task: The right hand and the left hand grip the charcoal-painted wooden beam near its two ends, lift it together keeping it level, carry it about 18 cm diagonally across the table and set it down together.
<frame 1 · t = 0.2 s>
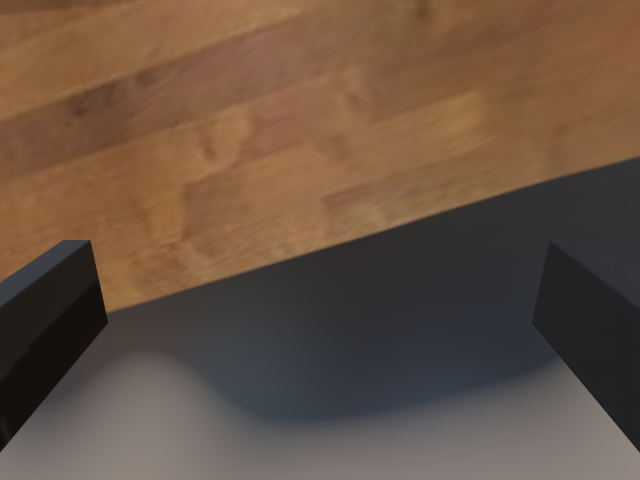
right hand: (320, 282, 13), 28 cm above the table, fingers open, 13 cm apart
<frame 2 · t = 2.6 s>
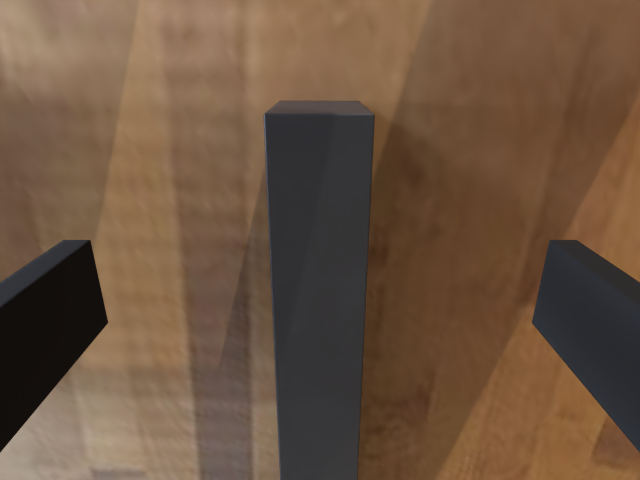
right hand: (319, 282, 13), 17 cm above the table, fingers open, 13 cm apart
beam: (319, 343, 33), on the table
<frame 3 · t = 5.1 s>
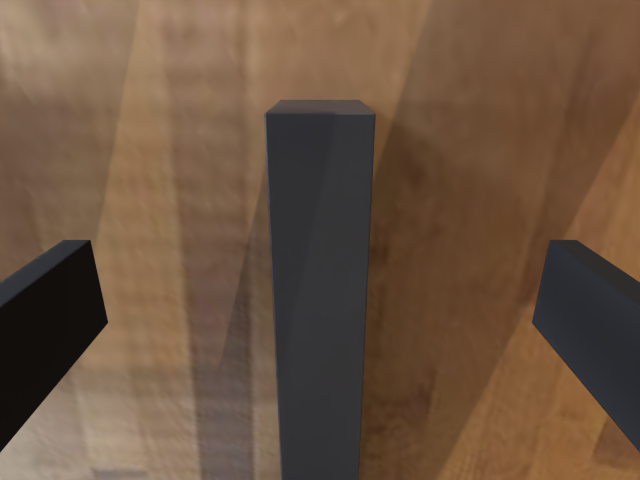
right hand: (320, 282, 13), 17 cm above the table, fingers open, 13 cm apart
beam: (319, 343, 33), on the table, touching left hand
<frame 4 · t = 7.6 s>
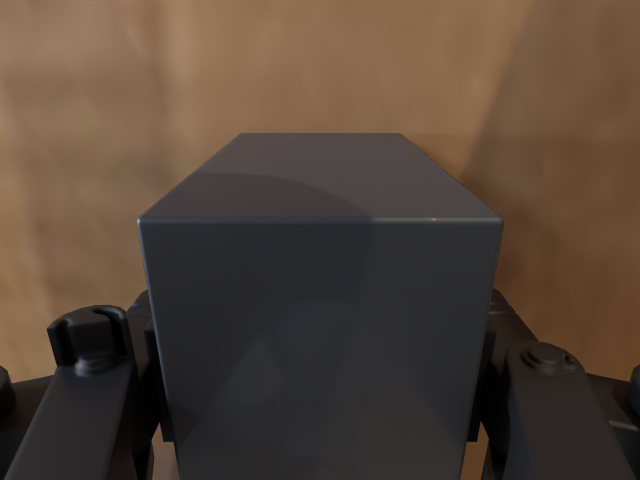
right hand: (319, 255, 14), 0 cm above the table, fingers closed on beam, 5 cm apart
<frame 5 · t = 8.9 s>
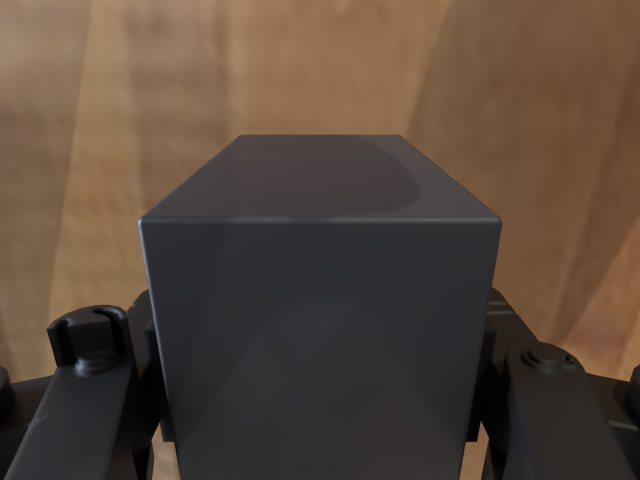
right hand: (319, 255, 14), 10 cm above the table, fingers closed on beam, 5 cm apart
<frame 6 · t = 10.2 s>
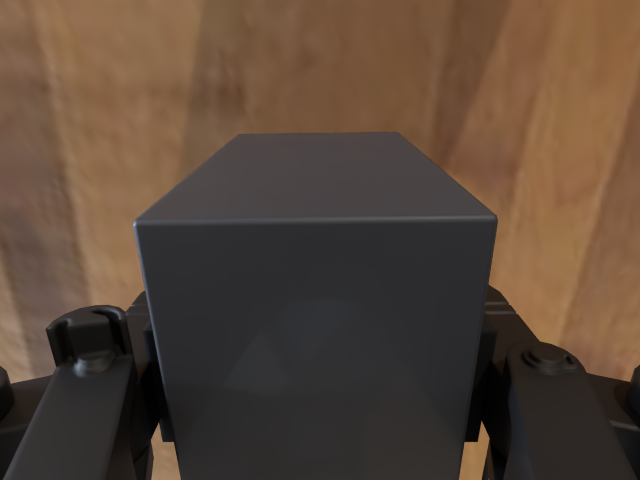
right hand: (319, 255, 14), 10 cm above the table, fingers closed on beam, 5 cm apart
when the left hand's fingers open (1 cm above the table, at t = 12.7 s): beam stays where it is, on the table.
when the right hand's fingers open (1 cm above the table, at t = 12.7 s): beam stays where it is, on the table.
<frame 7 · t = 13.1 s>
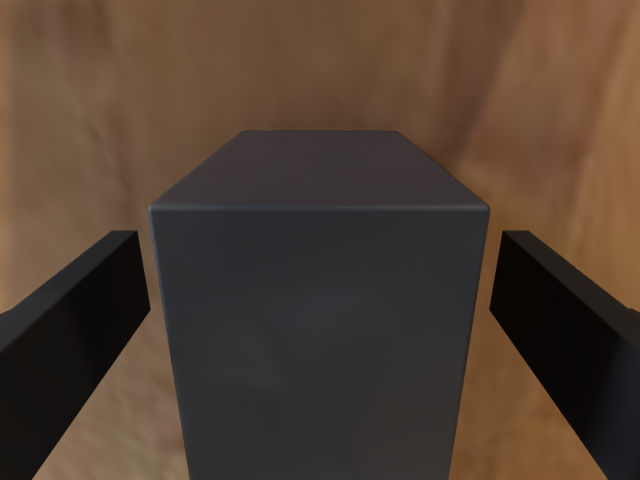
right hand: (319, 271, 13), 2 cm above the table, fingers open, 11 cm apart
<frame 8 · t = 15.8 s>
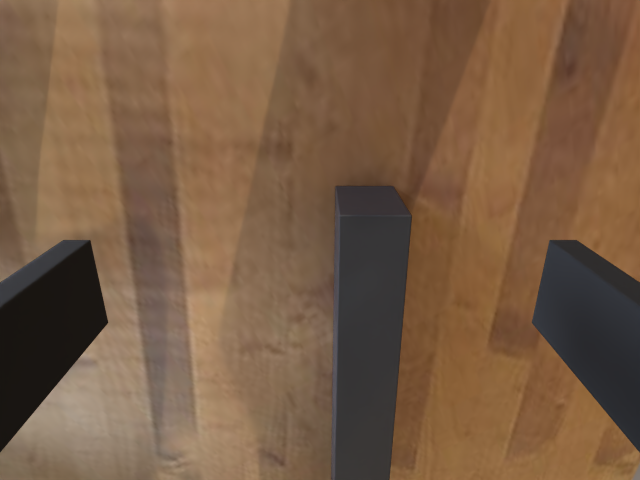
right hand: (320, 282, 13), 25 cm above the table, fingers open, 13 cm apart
beam: (357, 358, 43), on the table
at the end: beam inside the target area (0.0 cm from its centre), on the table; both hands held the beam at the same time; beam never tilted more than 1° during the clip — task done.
